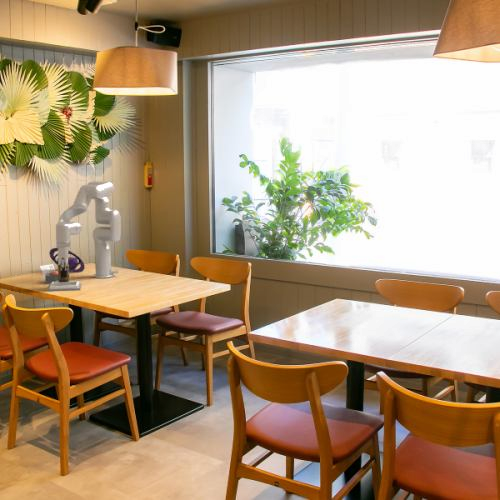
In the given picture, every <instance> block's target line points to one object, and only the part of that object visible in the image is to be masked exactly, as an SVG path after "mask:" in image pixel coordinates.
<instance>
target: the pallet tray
mask: <svg viewBox="0 0 500 500" xmlns="http://www.w3.org/2000/svg"><path fill="white" fill-rule="evenodd" d="M72 281H73V282H65V283H61V282H52V283H51V284H48V287H47V288H46V292H60V291H61V292H63V291H64V292H65V291H81V289H82V284H83V283H82V282H80V280H72Z"/></svg>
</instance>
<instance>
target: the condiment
mask: <svg viewBox="0 0 500 500" xmlns="http://www.w3.org/2000/svg"><path fill="white" fill-rule="evenodd" d="M64 265H65V264H64ZM66 270H67V277H62V278H61V264H60V266H59V265H57V271H58V280H56V281H57V282H61V283H65V282H73V281H74V280H70V272H69V265H68V264H67V265H66Z"/></svg>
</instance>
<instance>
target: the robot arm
mask: <svg viewBox="0 0 500 500" xmlns="http://www.w3.org/2000/svg"><path fill="white" fill-rule="evenodd" d="M114 192H115V185H114V184H113V182H111V181H101V180H99V181H97V180H95V181H90V182H87V184H83V185H81V186H80V188H79V190H78V192H77V195H76V196H75V199H74V201H73V204H72V205H71V206H69V207H68V208H66V210H64V211H63V213H61V215H60V217H59V218H58V221H57V223H56V225H55V245H56V246H55V248H58V251H57V254H58V256H57V258H58V265H59V266H60V264H61V278H62V277H67V270H66V265H67V264H68V257H69V254H68V251H69V249H70V248H71V247H70V246H71V236H78V235H80V234H81V232H82V230H83V229H82V225H81V224H80V223H79V222H77V221H71V220H72V219H73V218H75V217H78V216H79V215H82V214H84V213H86V212H87V211H88V210H89V209H88V208H89V206H90V204H91V201H92V200H94V204H95V205H94V206H95V207H94V211H95V212H94V215H95V216H94V217H95V222H96V224H99V225H108V226H96V227H95V228H94V229H93V230H92V238H93V242H94V243H93V244H94V262H95V264H94V265H95V267H94V268H95V273H94V274H93V276H92V277H93V278H97V279H107V278H112V277H114V274H119V270H118V269H117V270H116V269H115V270H114V269H112V259H111V257H112V254H111V253H112V252H111V245H110V244H109V243H118V242H119V241H120V239H121V237H122V236H121V235H122V217H121V213H120V212H119V210H117V209H111V208H110V200H109V198H108V197H110V196H112V194H114ZM64 264H65V265H64ZM58 265H57V266H58Z"/></svg>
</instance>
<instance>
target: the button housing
mask: <svg viewBox="0 0 500 500" xmlns="http://www.w3.org/2000/svg"><path fill="white" fill-rule="evenodd" d="M44 276H45V277H44V279H45V281H44V282H45V283H44V284H45V285H50V284H51V283H52V282H57V281H56V280H58V275H50V272H47V273H45V275H44Z"/></svg>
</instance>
